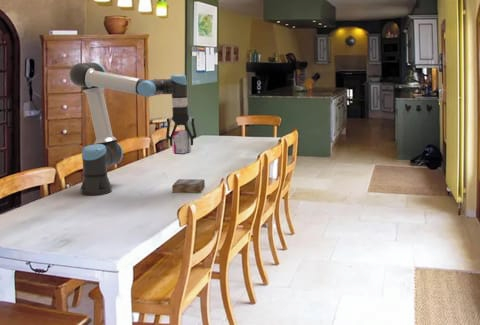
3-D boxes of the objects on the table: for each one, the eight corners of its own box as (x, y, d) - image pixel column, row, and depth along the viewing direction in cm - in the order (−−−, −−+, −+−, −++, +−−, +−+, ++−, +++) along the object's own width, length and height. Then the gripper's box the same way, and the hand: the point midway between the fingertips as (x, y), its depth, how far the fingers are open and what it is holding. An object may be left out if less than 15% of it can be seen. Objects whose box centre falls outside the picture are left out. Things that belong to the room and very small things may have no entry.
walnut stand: (172, 192, 287) (172, 184, 286) (178, 186, 301) (177, 178, 300) (200, 192, 286) (200, 185, 285) (204, 186, 299) (204, 178, 299)
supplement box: (190, 152, 289) (189, 130, 287) (183, 154, 284) (182, 131, 282) (181, 152, 292) (179, 129, 290) (173, 154, 287) (172, 131, 285)
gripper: (158, 107, 279) (160, 154, 284) (200, 106, 280) (202, 152, 284) (159, 106, 287) (162, 151, 291) (201, 105, 287) (202, 150, 292)
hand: (182, 152), depth 288 cm, fingers closed on supplement box, 8 cm apart
